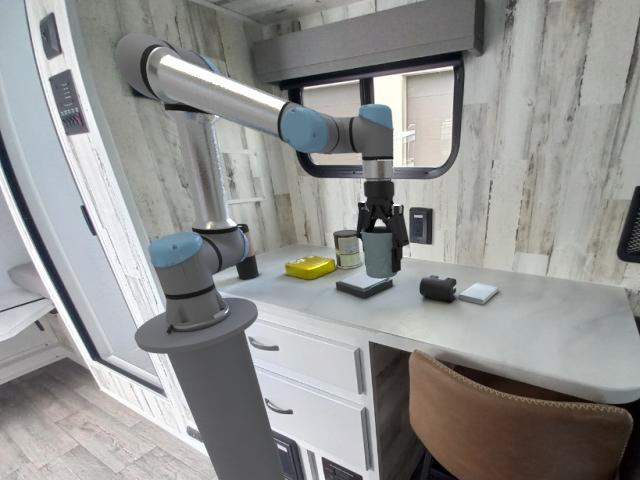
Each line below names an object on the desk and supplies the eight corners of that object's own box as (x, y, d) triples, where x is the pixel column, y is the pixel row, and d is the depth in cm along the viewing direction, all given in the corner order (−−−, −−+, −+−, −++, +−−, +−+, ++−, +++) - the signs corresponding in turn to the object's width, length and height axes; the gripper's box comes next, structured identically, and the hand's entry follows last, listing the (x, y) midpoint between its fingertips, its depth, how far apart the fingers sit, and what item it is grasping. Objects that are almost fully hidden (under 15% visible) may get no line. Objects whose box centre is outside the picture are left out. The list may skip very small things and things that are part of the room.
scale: (364, 298, 99) (363, 289, 97) (336, 289, 107) (335, 280, 106) (392, 285, 108) (392, 277, 107) (365, 277, 117) (364, 269, 115)
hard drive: (483, 300, 91) (498, 286, 100) (458, 294, 96) (475, 282, 105) (483, 305, 92) (498, 291, 101) (458, 299, 97) (475, 286, 105)
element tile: (310, 280, 115) (308, 268, 113) (284, 274, 123) (281, 263, 121) (337, 269, 127) (336, 258, 125) (312, 264, 134) (310, 253, 132)
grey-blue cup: (357, 272, 85) (353, 229, 80) (385, 265, 91) (383, 224, 86) (379, 282, 78) (377, 235, 73) (408, 273, 84) (408, 229, 79)
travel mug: (234, 279, 119) (220, 227, 111) (247, 272, 126) (235, 223, 118) (251, 280, 117) (238, 227, 109) (263, 273, 124) (252, 223, 116)
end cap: (419, 300, 97) (419, 279, 94) (428, 292, 102) (428, 272, 99) (449, 305, 92) (449, 285, 89) (457, 297, 98) (458, 277, 95)
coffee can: (331, 266, 130) (327, 233, 124) (347, 260, 138) (344, 228, 132) (350, 270, 125) (347, 235, 119) (365, 263, 133) (363, 230, 127)
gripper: (424, 180, 71) (423, 272, 80) (358, 178, 84) (364, 257, 93) (404, 182, 65) (405, 280, 75) (337, 179, 78) (345, 263, 88)
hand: (382, 267), depth 84 cm, fingers closed on grey-blue cup, 9 cm apart
